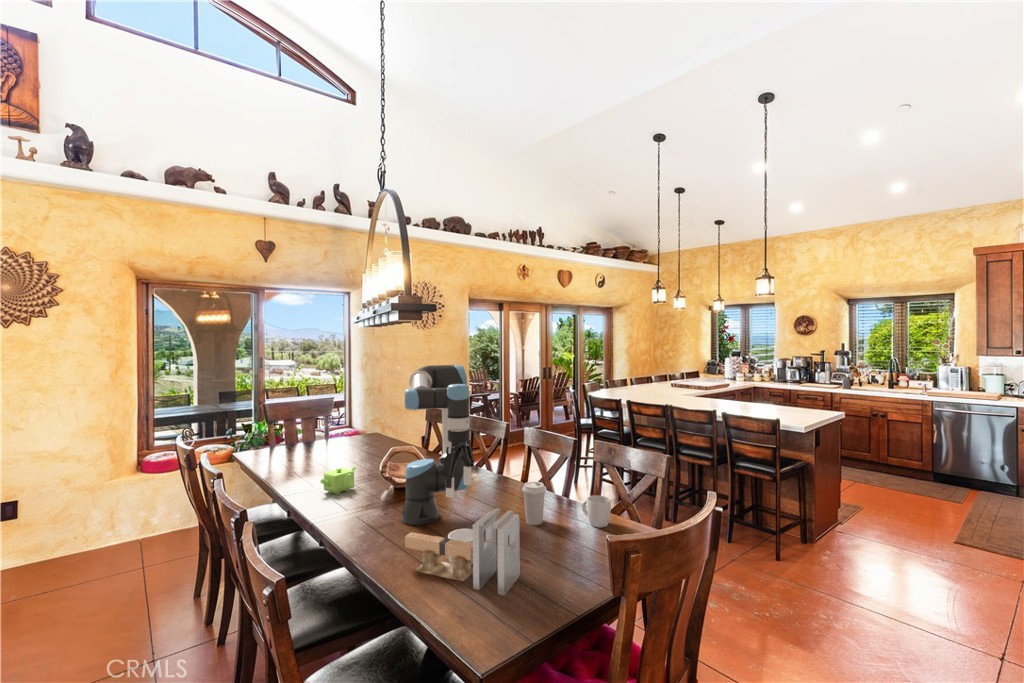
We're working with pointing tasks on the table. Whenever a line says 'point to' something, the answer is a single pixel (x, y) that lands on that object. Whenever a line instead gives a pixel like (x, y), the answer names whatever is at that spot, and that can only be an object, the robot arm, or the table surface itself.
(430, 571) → the rack
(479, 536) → the twin slotted uprights
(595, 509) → the mug
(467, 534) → the mug
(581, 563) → the table surface
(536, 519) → the coffee cup
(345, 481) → the green boxy piggy bank
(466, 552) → the block
